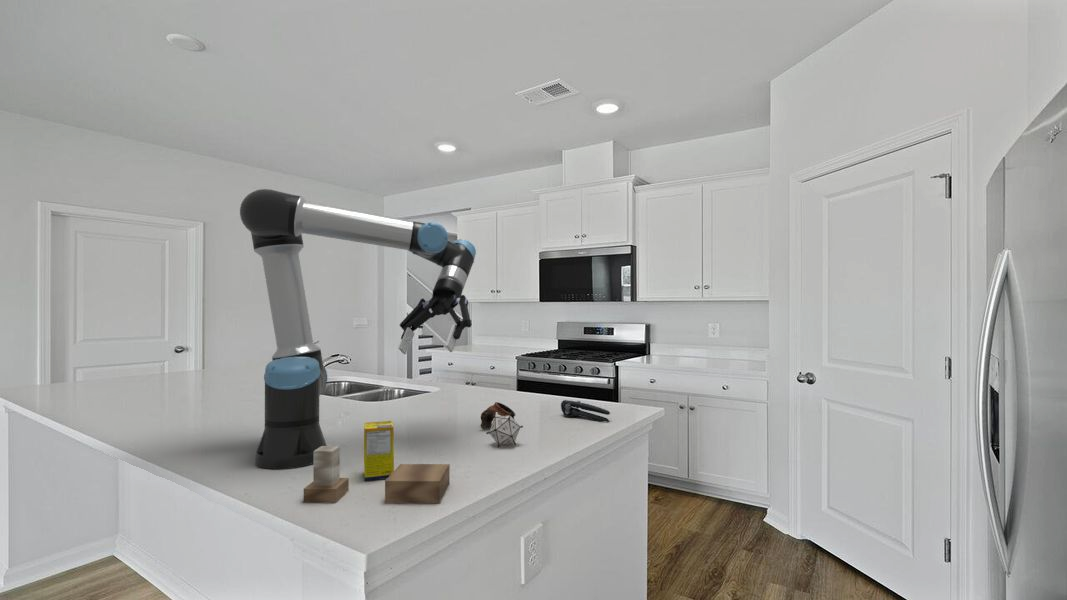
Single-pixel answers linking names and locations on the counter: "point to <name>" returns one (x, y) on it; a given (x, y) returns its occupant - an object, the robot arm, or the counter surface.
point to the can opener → (570, 411)
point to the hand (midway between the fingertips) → (424, 350)
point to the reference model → (326, 477)
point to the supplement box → (378, 450)
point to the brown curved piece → (497, 407)
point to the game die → (504, 430)
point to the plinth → (417, 483)
